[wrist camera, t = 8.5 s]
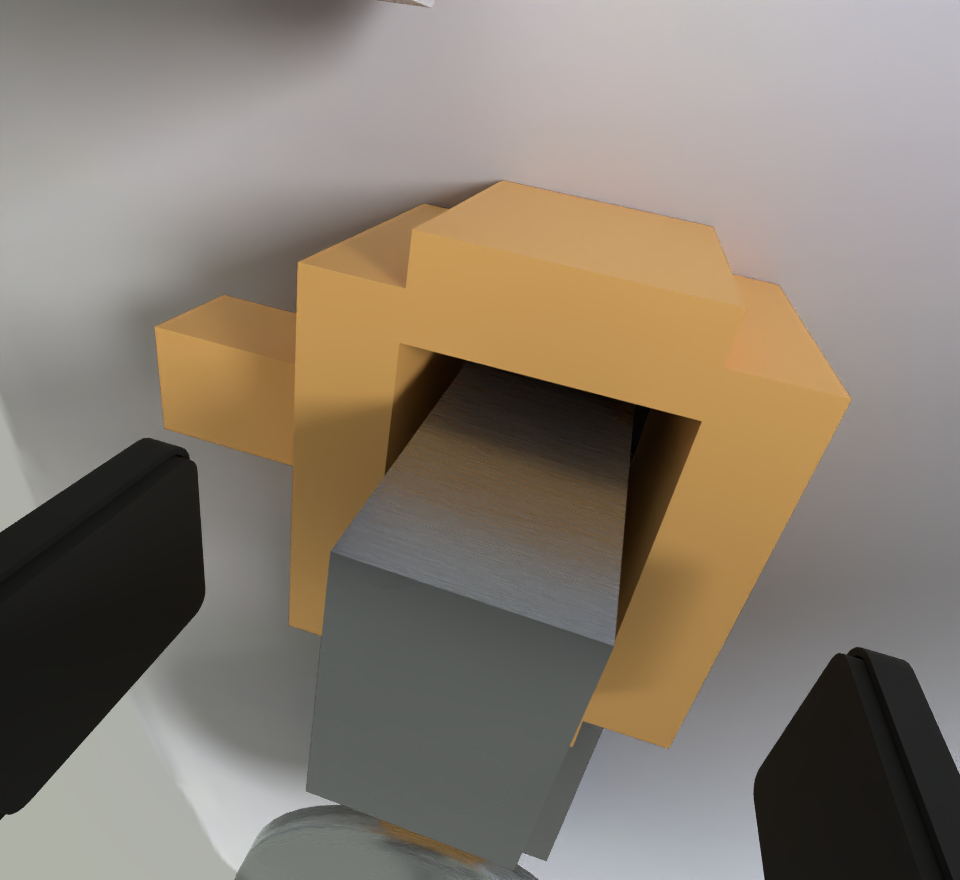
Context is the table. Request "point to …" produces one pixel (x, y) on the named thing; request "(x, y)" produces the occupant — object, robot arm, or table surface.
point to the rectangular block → (474, 612)
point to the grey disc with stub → (400, 839)
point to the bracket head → (547, 356)
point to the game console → (414, 2)
